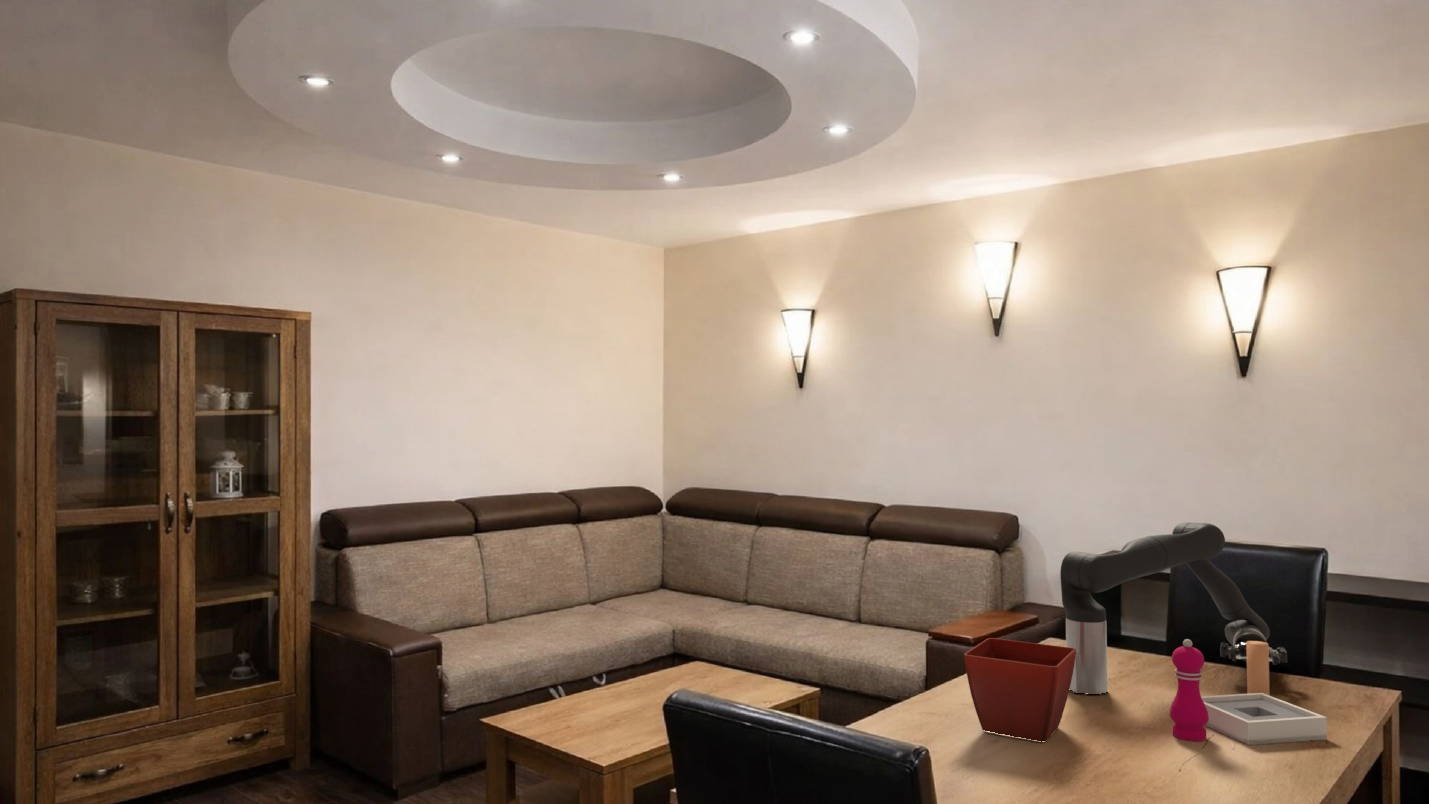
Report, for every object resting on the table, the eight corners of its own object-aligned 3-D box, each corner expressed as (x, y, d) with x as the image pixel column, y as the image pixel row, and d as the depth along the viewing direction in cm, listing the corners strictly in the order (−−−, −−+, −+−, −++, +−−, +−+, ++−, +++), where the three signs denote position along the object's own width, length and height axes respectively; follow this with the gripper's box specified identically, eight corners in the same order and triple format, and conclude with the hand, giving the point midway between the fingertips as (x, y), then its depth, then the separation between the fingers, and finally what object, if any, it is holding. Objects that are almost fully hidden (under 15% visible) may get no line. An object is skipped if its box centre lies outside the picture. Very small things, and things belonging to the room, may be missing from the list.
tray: (1248, 745, 190) (1247, 722, 190) (1189, 717, 208) (1188, 697, 208) (1327, 739, 193) (1326, 717, 193) (1262, 713, 211) (1261, 692, 211)
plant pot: (1078, 725, 203) (1077, 647, 204) (1058, 752, 187) (1056, 666, 188) (989, 712, 214) (988, 636, 214) (963, 735, 198) (962, 654, 198)
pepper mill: (1206, 732, 198) (1204, 636, 199) (1212, 743, 191) (1209, 644, 192) (1168, 729, 201) (1166, 634, 201) (1172, 740, 194) (1170, 641, 194)
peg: (1257, 707, 215) (1255, 645, 215) (1243, 702, 219) (1242, 641, 220) (1274, 706, 216) (1272, 644, 216) (1260, 701, 220) (1258, 640, 221)
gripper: (1218, 627, 245) (1220, 640, 231) (1282, 632, 239) (1288, 646, 224) (1219, 656, 245) (1221, 671, 230) (1283, 662, 239) (1289, 677, 224)
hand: (1254, 658), depth 227 cm, fingers open, 8 cm apart
